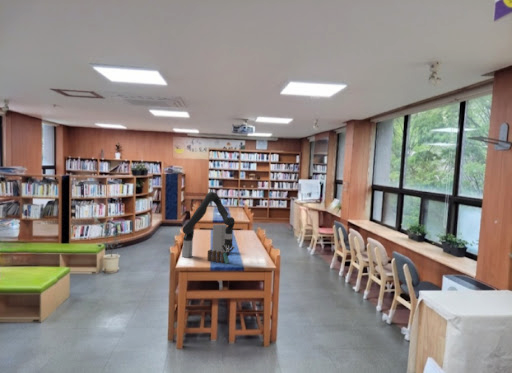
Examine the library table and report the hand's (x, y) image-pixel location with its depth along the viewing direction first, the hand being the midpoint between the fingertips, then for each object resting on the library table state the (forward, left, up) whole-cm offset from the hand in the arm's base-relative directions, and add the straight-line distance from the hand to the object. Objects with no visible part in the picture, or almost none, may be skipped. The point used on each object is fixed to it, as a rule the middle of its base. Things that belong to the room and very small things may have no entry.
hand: (227, 255), depth 300 cm
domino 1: (-20, 0, -8) cm, 22 cm away
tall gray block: (-26, +30, -8) cm, 41 cm away
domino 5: (0, 0, -7) cm, 7 cm away
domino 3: (-10, 0, -8) cm, 13 cm away
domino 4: (-5, 0, -8) cm, 9 cm away
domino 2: (-15, 0, -8) cm, 17 cm away
